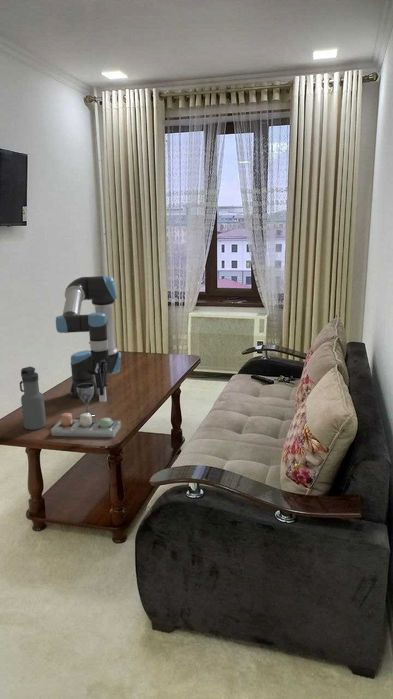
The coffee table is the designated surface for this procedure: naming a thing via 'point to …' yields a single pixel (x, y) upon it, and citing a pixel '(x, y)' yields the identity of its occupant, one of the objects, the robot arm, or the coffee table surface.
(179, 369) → the coffee table surface
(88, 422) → the white egg
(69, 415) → the brown egg
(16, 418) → the coffee table surface
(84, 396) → the wine glass
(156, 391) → the coffee table surface
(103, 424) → the pale green rounded egg
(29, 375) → the water bottle
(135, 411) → the coffee table surface
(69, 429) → the panel
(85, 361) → the robot arm
